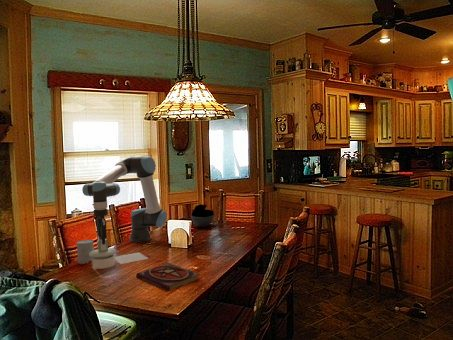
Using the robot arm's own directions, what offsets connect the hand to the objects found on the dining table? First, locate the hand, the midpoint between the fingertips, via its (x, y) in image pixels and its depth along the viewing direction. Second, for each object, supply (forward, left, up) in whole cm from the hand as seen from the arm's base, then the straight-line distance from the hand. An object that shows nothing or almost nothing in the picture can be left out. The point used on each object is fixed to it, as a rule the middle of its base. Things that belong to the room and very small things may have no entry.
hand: (102, 248), depth 213 cm
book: (-23, +41, -11) cm, 48 cm away
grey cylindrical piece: (+6, -18, -11) cm, 22 cm away
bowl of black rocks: (-97, -56, -11) cm, 113 cm away
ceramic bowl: (0, 0, -11) cm, 11 cm away
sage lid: (0, 0, -3) cm, 3 cm away
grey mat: (-17, -4, -11) cm, 20 cm away
